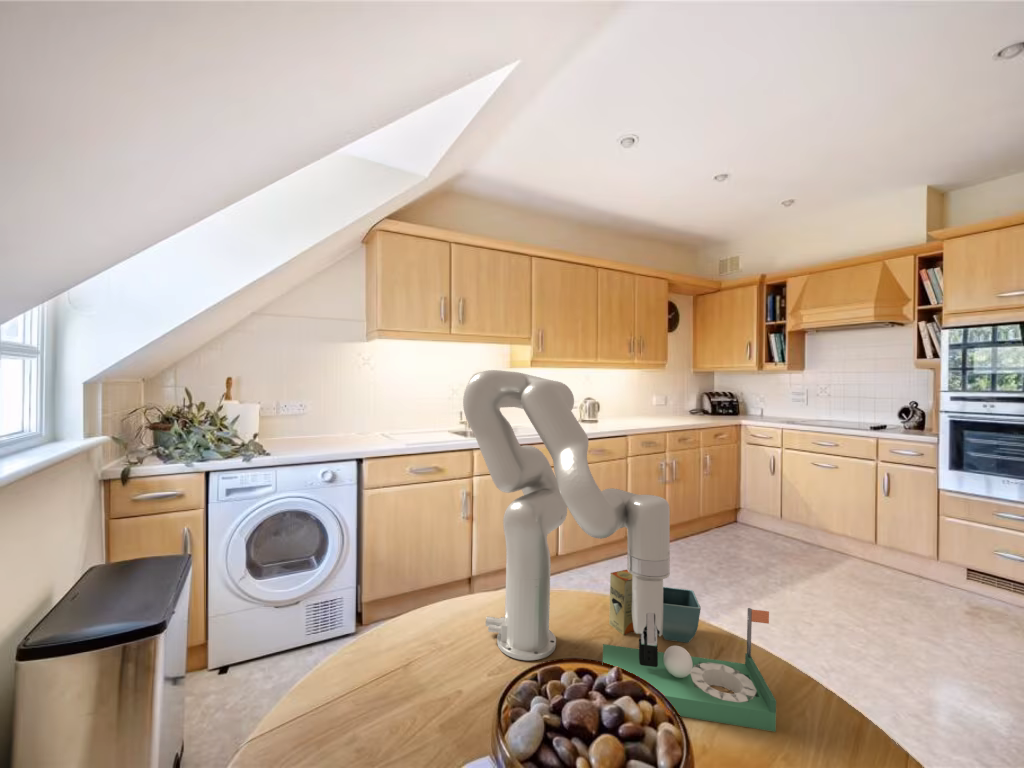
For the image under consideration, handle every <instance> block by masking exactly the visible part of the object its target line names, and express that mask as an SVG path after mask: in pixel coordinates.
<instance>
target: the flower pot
mask: <svg viewBox="0 0 1024 768" xmlns="http://www.w3.org/2000/svg"><path fill="white" fill-rule="evenodd" d="M700 614H701V606H700V602H699V601H698V598H697V595H696V594H695V592H694V591H693V590H692V589H686V588H675V587H668V586H663V634H662V635H661V636H662V637H663V639H664V640H666V641H672V642H680V643H686V644H688V643H690V642H691V640H693V638H694V637H695V636H696V633H697V632H698V627H699V621H700V616H701V615H700Z"/></svg>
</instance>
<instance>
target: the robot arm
mask: <svg viewBox="0 0 1024 768" xmlns="http://www.w3.org/2000/svg"><path fill="white" fill-rule="evenodd" d="M574 404H575V397H574V394H573V392H572V390H571V388H569V386H568V385H567V384H565V383H563V382H561V381H558V380H554V379H553V380H551V379H548V378H544V377H543V378H542V377H540V376H536V375H535V376H534V375H532V374H531V375H530V374H527V373H523V372H517V371H509V370H508V371H507V370H495V369H491V370H490V369H487V370H483V371H480V372H479V373H476V374H475V375H473V376H472V378H470V380H469V381H468V383H467V385H466V387H465V389H464V393H463V398H462V407H463V412H464V416H465V419H466V421H467V422H468V423H467V424H468V426H469V427H470V429H471V431H472V433H473V435H474V437H475V440H476V442H477V445H478V447H479V450H480V453H481V455H482V457H483V459H484V460H483V461H484V462H485V465H486V467H487V470H488V473H489V475H490V477H491V479H492V482H493V483H494V485H495V487H496V488H497V489H498V490H499V491H500V492H502V493H507V494H509V493H515V492H518V491H522V494H523V495H522V496H519V497H517V498H515V499H514V500H513V501H511V502H510V504H509V505H508V506H507V507H506V509H505V512H504V514H503V519H502V524H503V533H504V539H505V552H506V555H505V557H506V559H505V560H506V563H505V607H504V616H500V618H498V617H494V616H486V619H485V627H488V630H487V631H488V632H489V633H496V634H497V633H498V634H497V636H496V639H497V640H496V641H497V642H496V644H497V647H498V649H499V650H500V651H501V652H502V653H503V654H505V655H506V656H507V657H510V658H513V659H515V660H519V661H520V660H521V661H536V660H537V661H538V660H543V659H545V658H547V657H549V656H550V655H552V653H554V652H555V650H556V647H557V638H556V636H555V633H553V632H552V630H550V604H551V603H550V600H551V596H550V595H551V553H550V549H549V544H548V535H549V534H550V533H551V532H553V531H555V530H557V528H559V527H561V525H563V524H564V523H565V521H566V518H567V515H568V511H569V513H570V514H571V516H572V517H573V519H574V521H575V522H576V523H577V525H578V527H579V528H581V530H582V531H583V532H584V533H585V534H587V535H588V536H589V537H592V538H593V539H606V538H609V537H611V536H612V535H614V534H615V533H616V532H617V531H618V530H620V529H622V528H626V529H627V535H626V536H627V537H626V539H627V551H626V552H627V553H626V554H627V560H626V561H627V569H626V570H628V572H629V573H630V574H632V620H633V628H634V632H633V633H635V634H636V635H638V634H639V638H638V649H639V662H640V665H644V666H651V667H657V666H658V652H659V650H658V649H659V647H658V637H661V636H663V635H662V634H663V587H664V580H665V579H667V578H669V577H670V571H671V568H670V565H671V564H670V563H671V562H670V558H671V557H670V555H671V553H670V551H671V550H670V549H671V548H670V546H671V545H670V543H671V542H670V541H671V540H670V536H671V535H670V533H671V532H670V531H671V530H670V529H671V528H670V523H671V522H670V517H671V515H670V514H671V513H670V512H671V511H670V504H669V502H668V500H667V499H665V498H664V497H661V496H660V495H659V496H658V495H654V494H636V493H633V492H629V491H626V490H622V489H620V488H610V487H609V488H605V489H603V490H601V489H600V488H599V487H600V486H598V484H597V482H596V481H595V478H594V477H593V474H592V472H591V469H590V467H589V462H588V450H589V437H588V434H587V433H586V431H585V430H584V428H583V427H582V425H581V423H580V422H579V421H578V419H577V417H576V416H575V415H574V413H573V411H572V410H573V409H574ZM501 408H518V409H522V410H523V411H524V412H525V414H526V416H527V418H528V419H529V421H530V423H531V424H532V427H533V428H534V429H535V431H536V433H537V435H538V436H539V438H540V440H541V441H542V443H543V445H544V446H545V448H546V450H547V451H548V453H549V455H550V457H551V459H552V462H553V464H552V465H553V467H552V465H551V463H550V461H549V460H548V458H547V456H546V455H545V454H544V452H542V451H541V449H539V448H538V447H535V446H532V445H521V444H520V442H519V440H518V439H517V436H516V434H515V431H514V429H513V427H512V425H511V424H510V421H508V420H507V418H506V417H505V416H504V415H503V414H502V412H501ZM553 469H554V470H553Z"/></svg>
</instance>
